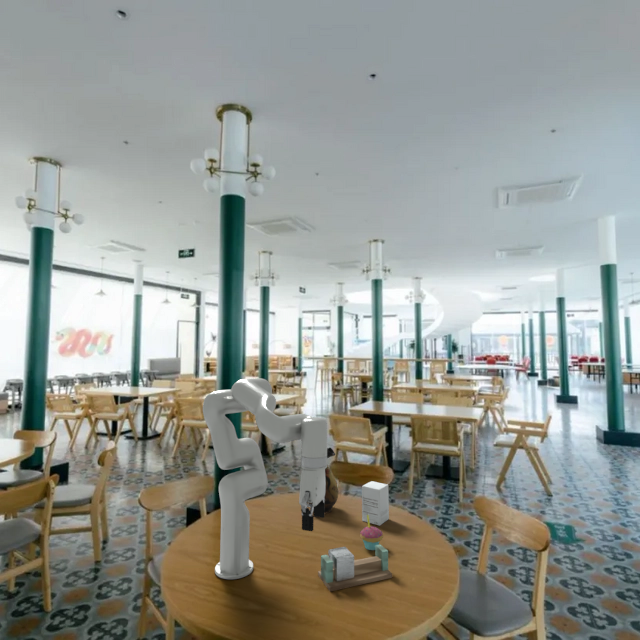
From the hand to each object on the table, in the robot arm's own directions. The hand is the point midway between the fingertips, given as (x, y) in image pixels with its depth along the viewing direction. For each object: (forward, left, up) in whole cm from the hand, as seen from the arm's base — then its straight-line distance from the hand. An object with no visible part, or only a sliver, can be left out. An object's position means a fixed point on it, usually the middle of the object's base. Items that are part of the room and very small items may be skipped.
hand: (313, 523), depth 117 cm
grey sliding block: (-13, +15, -23) cm, 30 cm away
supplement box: (-51, +49, -24) cm, 75 cm away
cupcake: (-29, +35, -24) cm, 51 cm away
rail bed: (-13, +20, -24) cm, 34 cm away
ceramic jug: (-71, +31, -24) cm, 81 cm away
